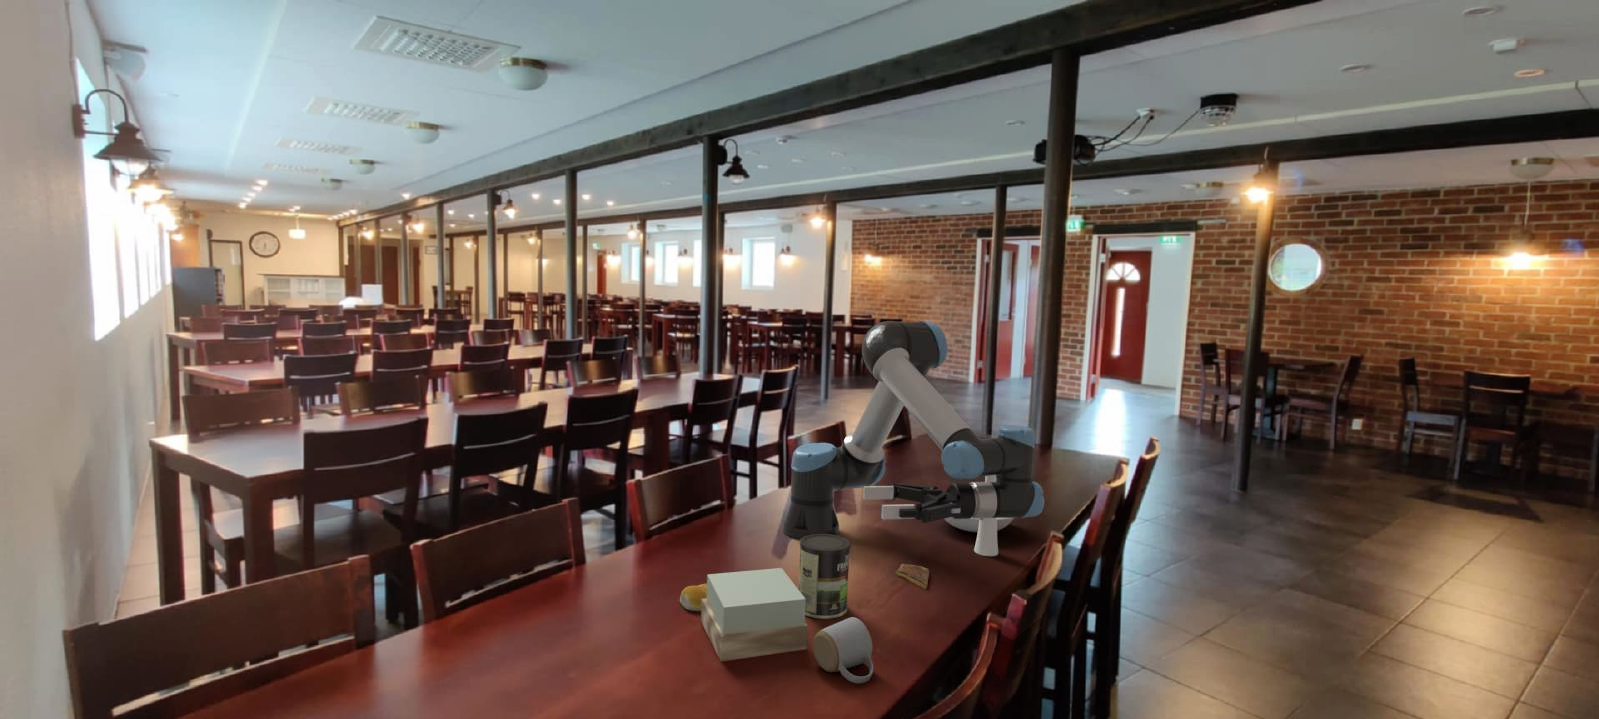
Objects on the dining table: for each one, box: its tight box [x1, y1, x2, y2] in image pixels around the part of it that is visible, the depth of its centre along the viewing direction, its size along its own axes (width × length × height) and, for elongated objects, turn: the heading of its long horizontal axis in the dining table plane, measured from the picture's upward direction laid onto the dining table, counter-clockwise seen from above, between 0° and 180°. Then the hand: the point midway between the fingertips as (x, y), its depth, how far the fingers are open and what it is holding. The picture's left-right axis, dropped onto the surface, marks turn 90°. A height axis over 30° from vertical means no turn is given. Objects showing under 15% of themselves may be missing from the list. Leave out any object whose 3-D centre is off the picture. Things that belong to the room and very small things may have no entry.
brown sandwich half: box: [894, 563, 930, 590], centre depth 166 cm, size 11×8×2 cm
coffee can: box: [798, 534, 851, 620], centre depth 148 cm, size 10×10×14 cm
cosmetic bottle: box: [973, 475, 999, 557], centre depth 184 cm, size 6×6×22 cm
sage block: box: [706, 567, 806, 635], centre depth 135 cm, size 15×15×5 cm
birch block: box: [700, 598, 809, 662], centre depth 136 cm, size 16×16×5 cm
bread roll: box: [679, 583, 707, 612], centre depth 149 cm, size 8×9×4 cm
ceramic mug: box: [812, 616, 874, 685], centre depth 124 cm, size 11×8×8 cm
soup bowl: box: [944, 517, 1015, 533], centre depth 203 cm, size 24×24×7 cm
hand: (872, 502), depth 148 cm, fingers open, 13 cm apart
